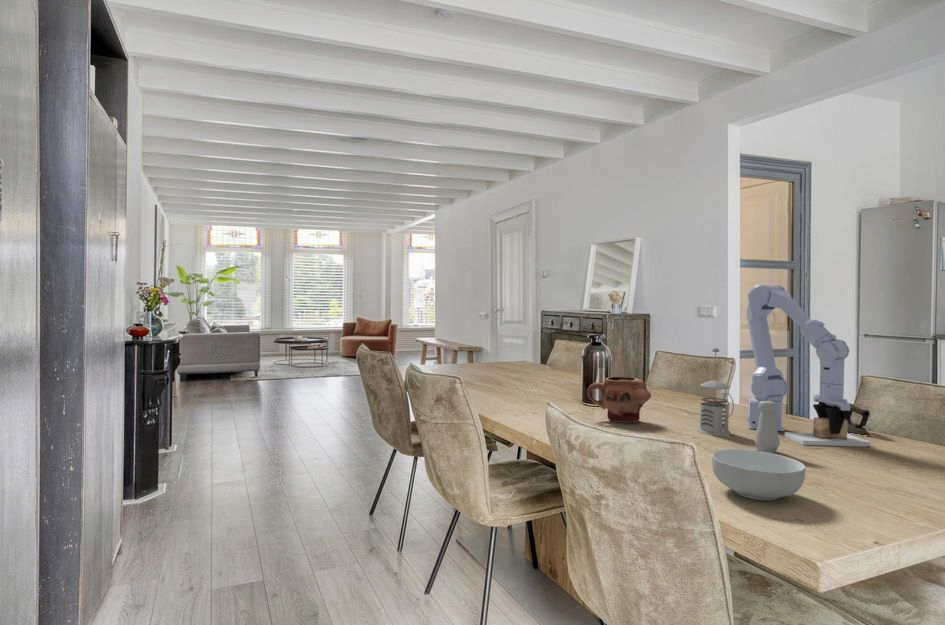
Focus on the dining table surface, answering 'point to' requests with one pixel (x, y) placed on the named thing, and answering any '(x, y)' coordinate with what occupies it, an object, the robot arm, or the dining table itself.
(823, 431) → the block
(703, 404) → the french press
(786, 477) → the cereal bowl
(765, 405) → the salt shaker
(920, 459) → the dining table surface
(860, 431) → the clothes iron
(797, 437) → the board
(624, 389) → the brown clay mug
